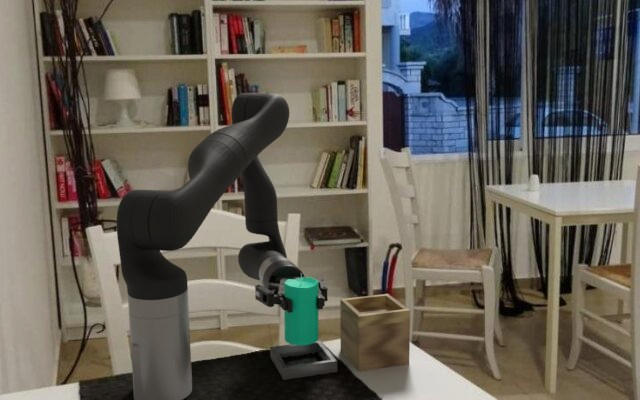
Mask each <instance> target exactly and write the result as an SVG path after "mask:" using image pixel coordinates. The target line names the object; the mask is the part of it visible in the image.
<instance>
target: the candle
mask: <svg viewBox="0 0 640 400" xmlns="http://www.w3.org/2000/svg"><path fill="white" fill-rule="evenodd" d="M302 273H303V272H302ZM302 273H301V278H298V279H287V281H286V282H285V283H284V294H285V297H287V298H289V299H291V300H292V312H290V313H288V312H287V311H286V310H284V339H285V342H286V343H287V344H289V345H290V344H293V345H310V344H313V343H315V342H316V341H319V310H318V309H317V296H318V281H319V280H318V279H316V278H313V277H310V276H309V277H308V276H305V277H302Z"/></svg>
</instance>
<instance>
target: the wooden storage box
mask: <svg viewBox="0 0 640 400" xmlns="http://www.w3.org/2000/svg"><path fill="white" fill-rule="evenodd" d="M339 301H340V307H339V308H340V316H339V317H340V318H339V319H340V328H339V329H340V352H342V354H343V355H344V356H345V357H346V358H347V360H349V361H350V362H351V364H352V365H353V367H355V368H356V369H357V371H359V372H363V371H369V370H370V371H371V370H377V369H383V368H389V367H395V366H402V365H409V364H410V345H411V344H410V340H411V339H410V338H411V337H410V336H411V334H410V333H411V332H410V330H411V310H410V309H409V308H408V307H407V306H405V305H404V304H402V303H401V302H400V301H399V300H397V299H396V298H394V297H393V296H391V294H389V293H384V294H375V295H366V296H357V297H348V298H340V300H339Z"/></svg>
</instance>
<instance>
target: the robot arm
mask: <svg viewBox="0 0 640 400" xmlns="http://www.w3.org/2000/svg"><path fill="white" fill-rule="evenodd" d="M289 118H290V107H289V104H288V102H287V100H286V99H285V98H284V96H282V95H280V94H277V93H272V92H271V93H270V92H242V93H239V94H237V95H236V97H235V98H234V100H233V101H232V106H231V124H229V125H227V126H224V127H221V128H219V129H216V130H215V131H214V132H212V133H210V134H209V135H207V136H206V137H205V138H204V139H203V140H202V141H201V142H199V143H198V144H197V145H196V146H195V148H194V149H192V151H191V153H190V155H189V157H188V161H187V173H188V179H189V180H188V181H187V182H186V183H185V184H184V185H183V186H181V187H180V188H177V189H174V190H160V189H159V190H158V189H133V190H130V191H128V192H127V193H125V195H123V196H122V198H121V200H120V202H119V204H118V208H117V211H116V235H117V236H116V237H117V242H118V243H117V245H118V251H119V259H120V269H121V275H122V277H123V278H122V279H123V281H124V282H125V284H126V289H127V291H126V293H127V303H128V316H129V317H128V320H129V338H130V355H131V356H130V357H131V372H132V386H133V387H132V389H133V400H184V399H186V398H188V397H189V395H191V393H192V391H193V375H192V357H191V354H192V353H191V336H190V335H191V332H190V314H189V313H190V309H189V289H188V288H189V287H188V276H187V275H188V274H187V273H186V271H185V270H184V269H183V268H181V267H180V266H178V265H176V264H174V263H173V262H171V261H169V260H168V259H167V257H165V256H164V255H163V253H162V252H172V251H174V252H175V251H178V250H181V249H182V248H184V247H185V246H187V245H188V243H190V242H191V240H192V238H194V237H195V235H196V233H197V232H198V230H199V229H200V227H201V225H202V224H203V223H204V221H205V220H206V218H207V217H208V215H209V214H210V212H211V211H212V209H213V208H214V206H215V205H216V204H217V202H218V201H219V200H220V199H221V197H223V195H224V194H225V192H227V190H228V189H229V188H230V187H231V186H232V185H233V184H234V183H235V182H236V181H237V179H239V177H240V176H241V178H242V179H241V180H242V186H243V187H242V188H243V194H244V197H243V199H244V218H245V220H244V222H245V228H246V230H247V232H248V233H251V234H254V235H260V236H266V237H268V241H260V242H251V243H247V244H244V245H243V246H242V247H241V248H240V250H239V252H238V257H237V258H238V265H239V267H240V270H241V272H243V274H245V275H246V276H247V277H248V278H251V279H253V280H257V281H260V283H261V284H256V285H255V286H254V291H255V292H254V295H255V298H254V299H255V300H256V301H258V302H260V303H261V304H263V305H265V307H268V308H273V307H274V306H275V305H277V306H278V307H279V308H281V309H282V310H283V311H285V310H286V311H287V312H288V313H290V312H292V300H291V299H289V298H287V297H285V294H284V283H285V282H286V281H287V279H298V278H301V273H302V277H306V276H305V274H304V273H303V272H302V270H301V269H300V268H299V267H298V266H297V265H296V264H294V262H292V261H291V259H289V258H288V257H287V255H288V254H287V252H286V248H285V245H284V243H283V240H282V237H281V233H280V229H279V222H278V220H279V219H278V196H277V192H276V188H275V186H274V184H273V182H272V180H271V178H270V176H269V175H268V173H267V171H266V169H264V167H263V165H262V163H261V160H260V159H259V157H258V156H259V155H260V154H261V153H262V152H263V151H264V150H265V149H266V148H267V147H269V146H270V145H272V143H274V142H275V141H276V140H277V139H279V137H281V136H282V135H283V133H284V132H285V130H286V129H287V126H288V123H289ZM161 251H162V252H161ZM328 291H329V290H328V284H327V280H326V279H324V278H321V279H320V278H319V280H318V296H317V309H318V311H319V310H323V307H325V306H326V304H325V303H326V302H328V300H329V299H328Z"/></svg>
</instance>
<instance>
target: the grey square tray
mask: <svg viewBox="0 0 640 400" xmlns="http://www.w3.org/2000/svg"><path fill="white" fill-rule="evenodd" d="M269 349H270V351H269V353H270V355H269V356H270V359H271V360H272V363H273V362H274V363H273V364H274V366H275V368H276V369H277V371H278V372H279V375H280V376H281V378H282V380H284V381H285V380H292V379H298V378H305V377H312V376H318V374H319V375H325V374H332V373H337V372H338V360H337V359H336V357H334V355H333V354H332V353H331V351H329V349H328V348H327V347H326V346H325V345H324V344H323V342H322V341H321V340H317V341H316V342H315V343H313V344H310V345H293V344H290V343H289V344H285V345H283V344H282V345H277V346H270V347H269ZM315 352H318V353H319V354H318V353H317V354H318V356H319V357H320V356H321V357H322V358H323V359H322V358H321V357H320V358H321V359H322V360H320V361H313V362H307V363H299V364H294V365H293V364H292V365H287V364H286V363H285V361H284V359H283V358H282V357H284V358H289V356H291V357H295V356H296V357H297V356H298V357H299V356H304V354H305V355H310V354H309V353H312V354H316V353H315ZM331 372H332V373H331Z"/></svg>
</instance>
